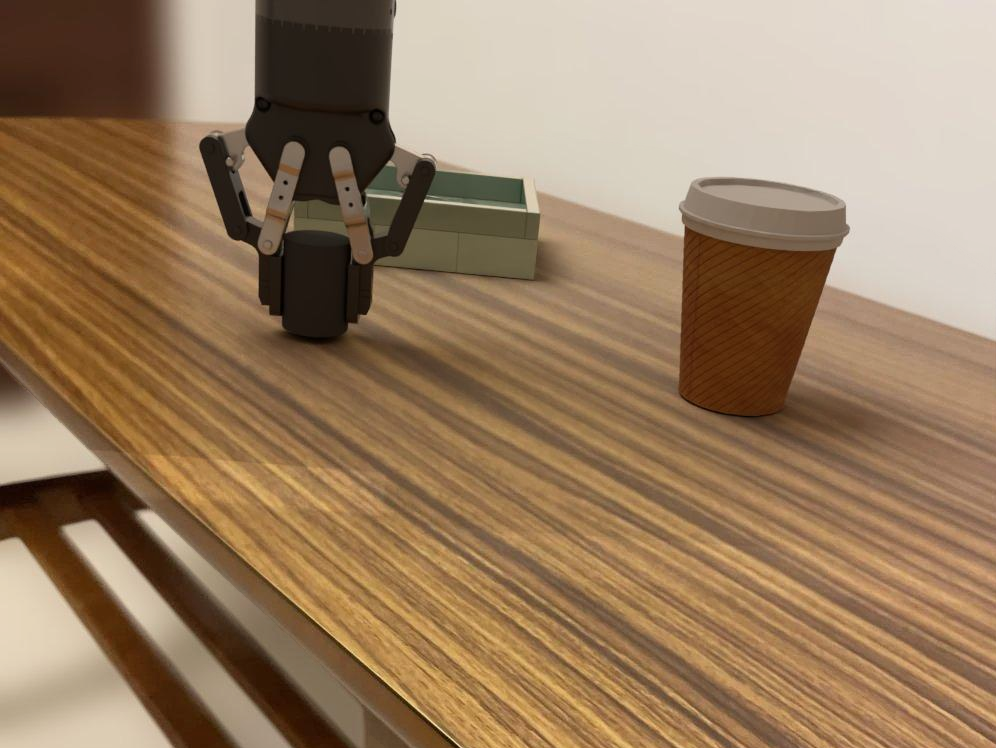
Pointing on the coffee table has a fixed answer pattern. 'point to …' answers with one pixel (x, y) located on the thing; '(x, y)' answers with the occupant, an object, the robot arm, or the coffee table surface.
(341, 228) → the green tray
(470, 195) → the basin rim
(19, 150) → the coffee table surface
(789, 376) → the disposable coffee cup
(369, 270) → the robot arm
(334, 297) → the stopper
